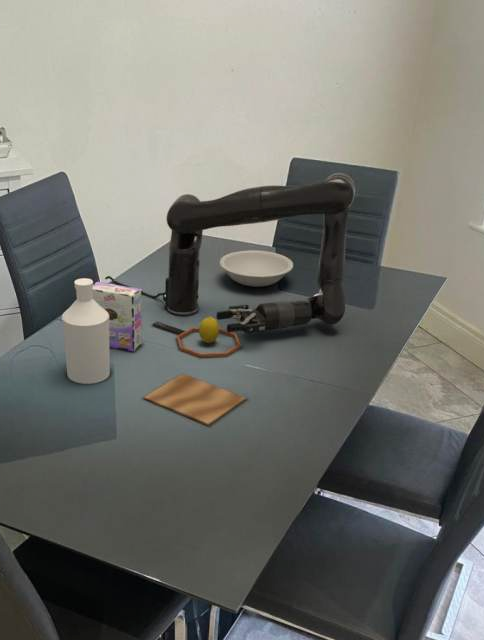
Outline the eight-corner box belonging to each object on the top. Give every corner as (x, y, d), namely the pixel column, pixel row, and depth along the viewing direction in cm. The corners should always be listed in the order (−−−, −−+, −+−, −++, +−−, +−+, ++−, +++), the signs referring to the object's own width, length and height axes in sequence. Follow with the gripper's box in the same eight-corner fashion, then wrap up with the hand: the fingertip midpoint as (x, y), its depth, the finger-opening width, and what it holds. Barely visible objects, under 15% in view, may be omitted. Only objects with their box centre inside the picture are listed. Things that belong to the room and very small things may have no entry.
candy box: (142, 344, 210) (142, 288, 200) (133, 352, 206) (133, 295, 196) (99, 335, 215) (97, 280, 204) (90, 343, 211) (87, 287, 200)
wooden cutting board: (143, 399, 186) (143, 396, 186) (182, 375, 196) (182, 373, 195) (208, 425, 176) (208, 423, 176) (245, 399, 186) (245, 397, 185)
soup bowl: (241, 264, 259) (242, 245, 255) (303, 279, 248) (306, 259, 244) (204, 285, 244) (205, 265, 240) (269, 302, 233) (271, 282, 229)
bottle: (60, 367, 199) (53, 277, 183) (101, 359, 203) (97, 270, 187) (74, 387, 190) (68, 294, 175) (117, 379, 194) (115, 286, 178)
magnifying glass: (136, 334, 215) (136, 331, 215) (172, 315, 226) (172, 312, 225) (215, 363, 201) (215, 359, 200) (250, 341, 211) (250, 338, 211)
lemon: (216, 348, 208) (218, 321, 203) (197, 346, 209) (198, 320, 204) (219, 340, 212) (220, 313, 207) (200, 338, 213) (201, 312, 208)
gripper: (267, 293, 214) (214, 299, 211) (287, 313, 203) (231, 319, 200) (264, 318, 219) (212, 324, 215) (284, 338, 208) (229, 345, 205)
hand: (222, 322), depth 208 cm, fingers open, 8 cm apart
